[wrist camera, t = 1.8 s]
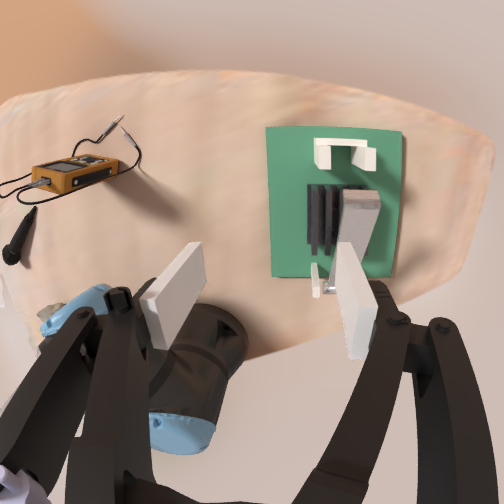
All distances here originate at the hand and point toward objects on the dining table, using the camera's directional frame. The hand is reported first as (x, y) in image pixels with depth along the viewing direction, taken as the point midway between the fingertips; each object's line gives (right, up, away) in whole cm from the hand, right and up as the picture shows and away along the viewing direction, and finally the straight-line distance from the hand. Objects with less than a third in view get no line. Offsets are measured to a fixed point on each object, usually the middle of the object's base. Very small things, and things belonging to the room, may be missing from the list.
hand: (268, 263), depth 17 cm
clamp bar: (+9, +1, +12) cm, 15 cm away
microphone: (-52, +4, +32) cm, 61 cm away
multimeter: (-24, +18, +22) cm, 37 cm away
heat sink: (+10, +6, +20) cm, 23 cm away
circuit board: (+10, +7, +21) cm, 24 cm away
